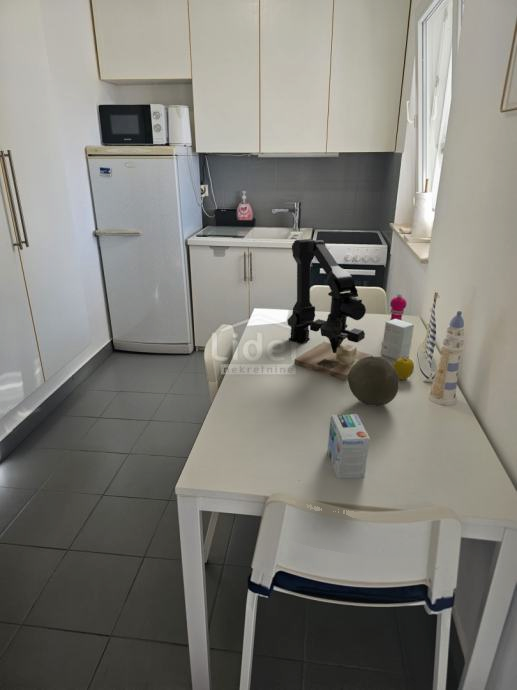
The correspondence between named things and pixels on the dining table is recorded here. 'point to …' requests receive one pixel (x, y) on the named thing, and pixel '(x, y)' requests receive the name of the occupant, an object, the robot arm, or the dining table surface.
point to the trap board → (327, 361)
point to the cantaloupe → (373, 381)
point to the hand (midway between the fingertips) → (334, 352)
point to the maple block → (346, 353)
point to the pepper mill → (397, 307)
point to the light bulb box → (348, 446)
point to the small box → (397, 339)
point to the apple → (404, 367)
